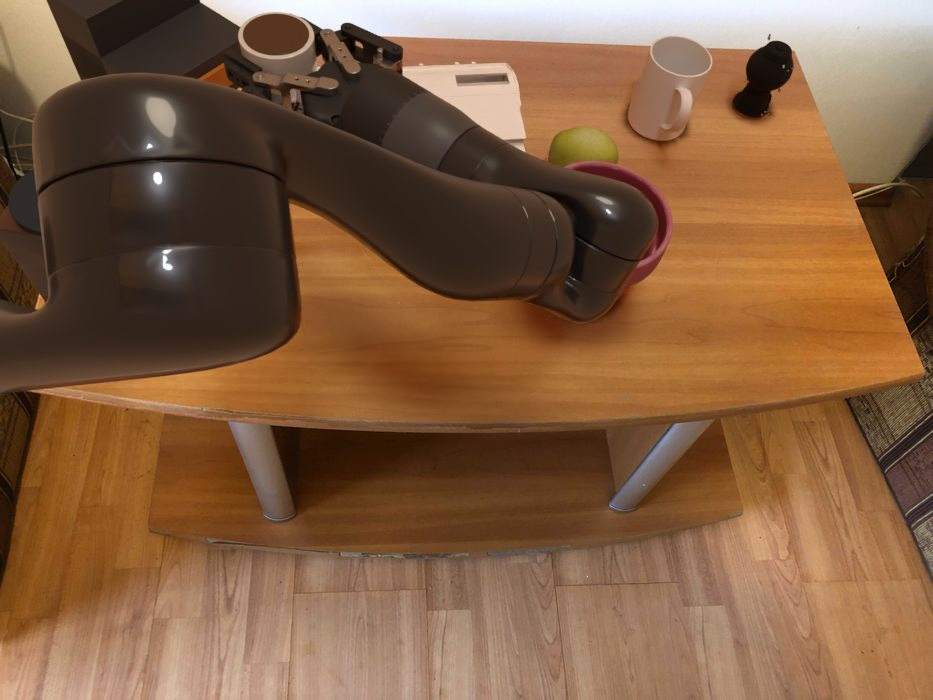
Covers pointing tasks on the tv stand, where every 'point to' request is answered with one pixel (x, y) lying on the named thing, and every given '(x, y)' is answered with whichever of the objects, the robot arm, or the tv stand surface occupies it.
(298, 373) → the tv stand surface
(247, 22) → the white cup
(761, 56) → the gumball machine
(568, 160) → the apple
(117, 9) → the coffee machine
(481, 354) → the tv stand surface
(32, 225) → the coaster
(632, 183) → the flower pot
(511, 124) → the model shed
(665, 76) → the mug
